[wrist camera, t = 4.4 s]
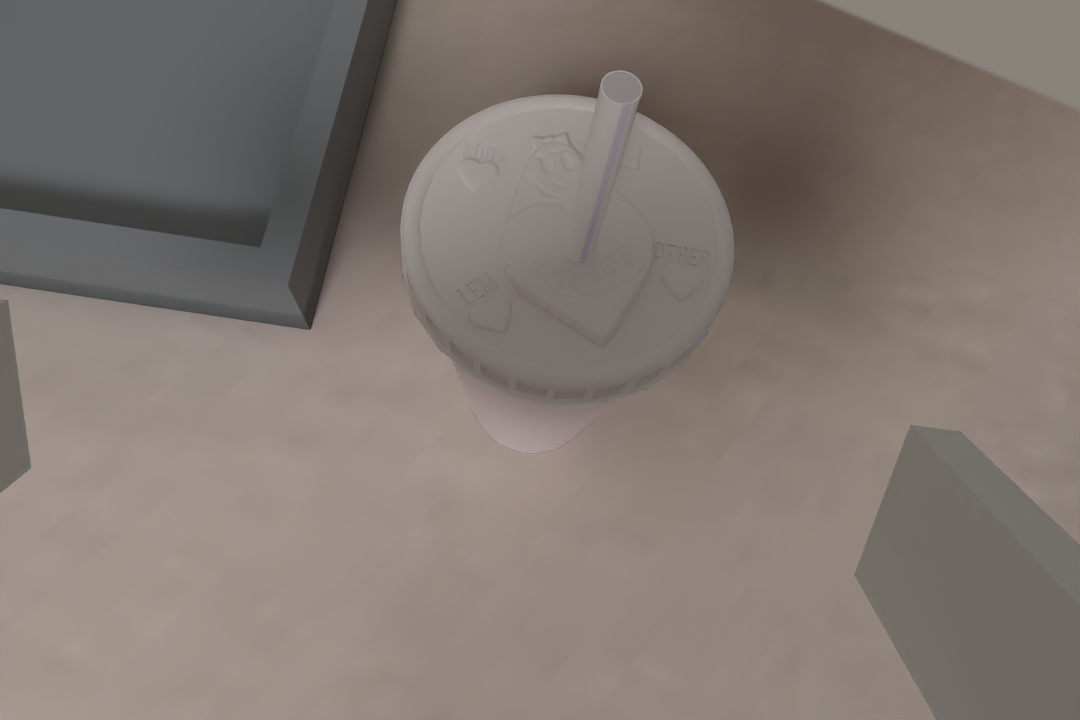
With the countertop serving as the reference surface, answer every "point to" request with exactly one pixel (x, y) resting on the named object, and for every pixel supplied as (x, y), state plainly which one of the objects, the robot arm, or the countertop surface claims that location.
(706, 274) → the smoothie
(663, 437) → the countertop surface
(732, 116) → the countertop surface
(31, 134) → the tray
